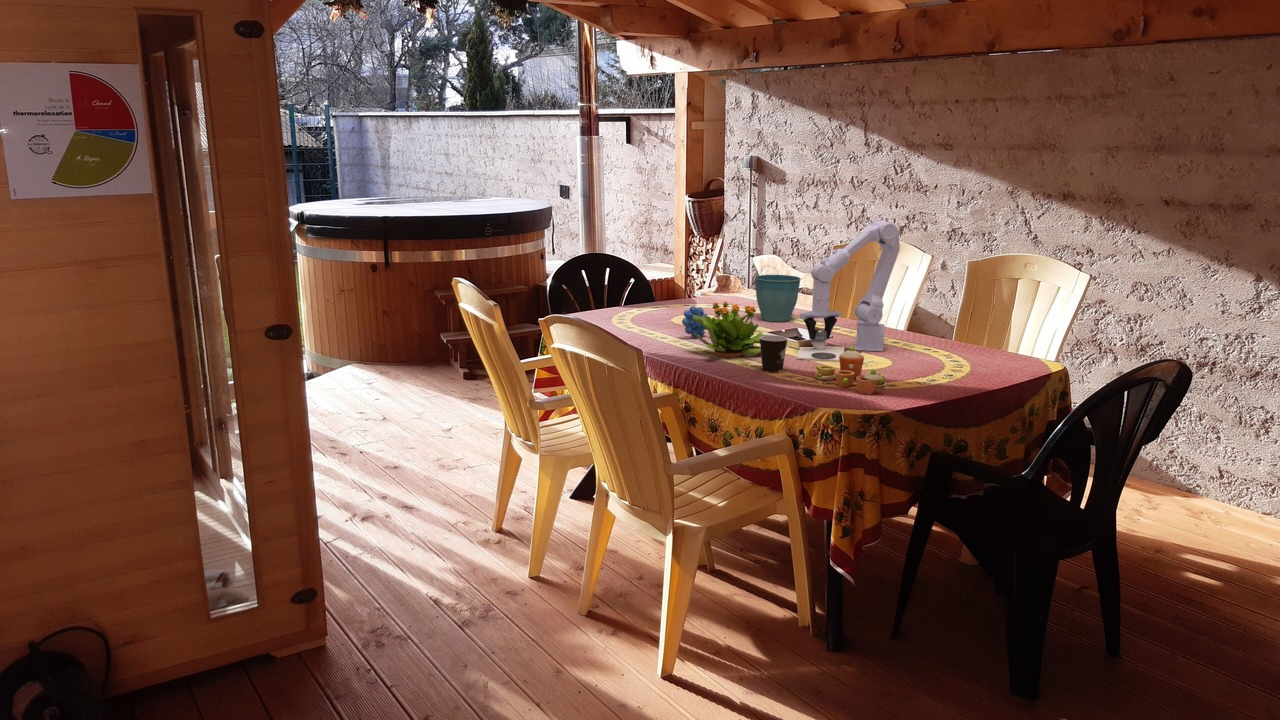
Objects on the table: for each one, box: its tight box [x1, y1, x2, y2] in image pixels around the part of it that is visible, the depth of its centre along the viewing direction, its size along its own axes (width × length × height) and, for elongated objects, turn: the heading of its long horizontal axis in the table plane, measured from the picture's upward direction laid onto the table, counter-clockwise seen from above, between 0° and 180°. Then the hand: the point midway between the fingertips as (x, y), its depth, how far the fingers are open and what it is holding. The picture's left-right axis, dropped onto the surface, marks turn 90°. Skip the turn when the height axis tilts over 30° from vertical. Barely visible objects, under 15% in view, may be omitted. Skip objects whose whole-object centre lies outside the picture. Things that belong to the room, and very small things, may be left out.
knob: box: [814, 326, 828, 342], centre depth 323 cm, size 5×5×4 cm
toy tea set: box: [814, 346, 886, 394], centre depth 281 cm, size 26×16×10 cm, turn 26°
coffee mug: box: [759, 334, 788, 372], centre depth 299 cm, size 12×9×10 cm
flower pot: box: [754, 274, 802, 323], centre depth 377 cm, size 18×18×17 cm
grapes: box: [681, 305, 708, 339], centre depth 342 cm, size 12×7×12 cm, turn 123°
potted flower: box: [692, 300, 768, 358], centre depth 317 cm, size 25×24×18 cm
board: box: [796, 340, 845, 363], centre depth 319 cm, size 15×20×4 cm
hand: (819, 338), depth 324 cm, fingers closed on knob, 5 cm apart
